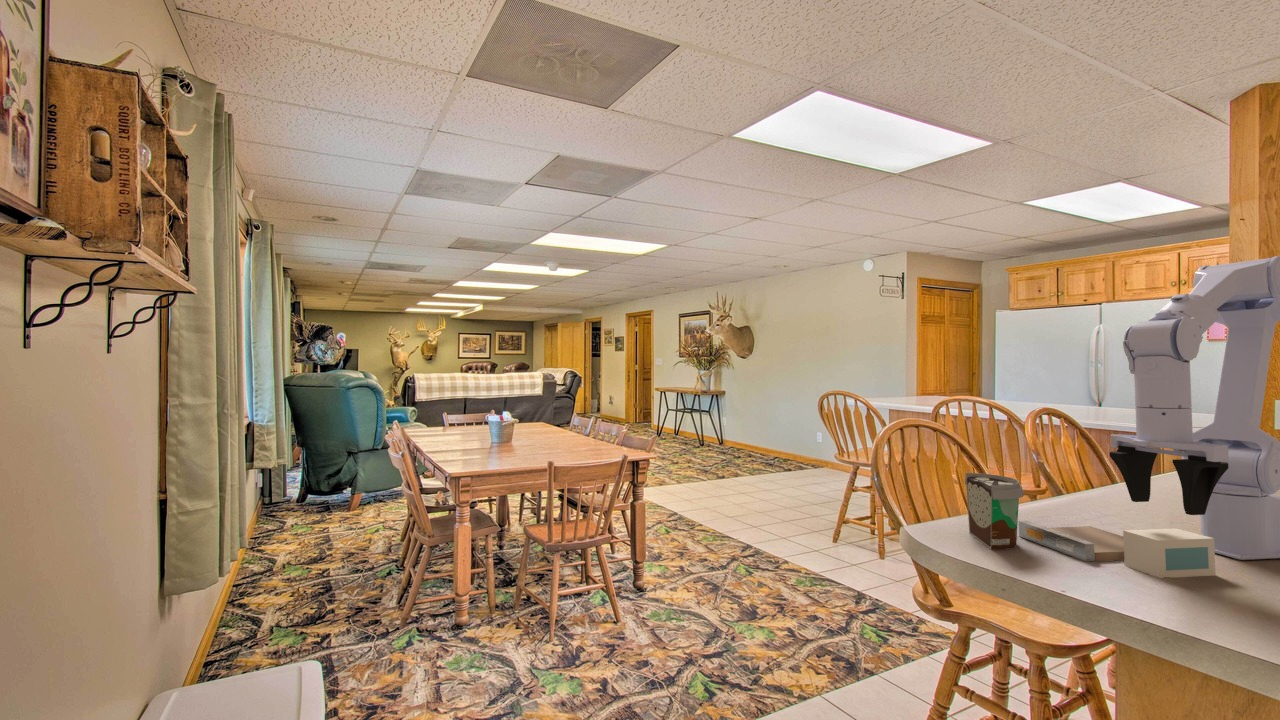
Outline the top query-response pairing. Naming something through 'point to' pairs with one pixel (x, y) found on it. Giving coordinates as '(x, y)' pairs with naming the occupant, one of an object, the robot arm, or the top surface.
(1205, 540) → the carton
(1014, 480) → the food container
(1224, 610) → the top surface
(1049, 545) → the price rail
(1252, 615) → the top surface
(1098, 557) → the shelf board
